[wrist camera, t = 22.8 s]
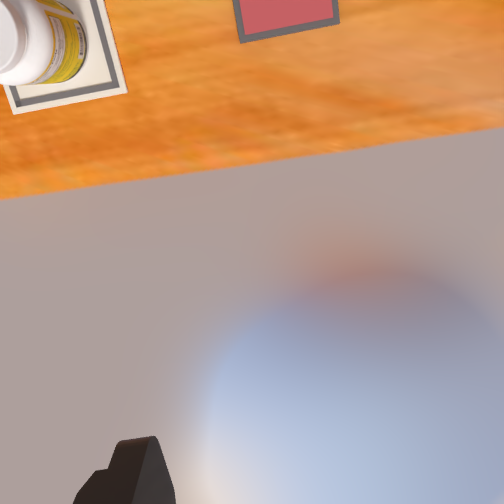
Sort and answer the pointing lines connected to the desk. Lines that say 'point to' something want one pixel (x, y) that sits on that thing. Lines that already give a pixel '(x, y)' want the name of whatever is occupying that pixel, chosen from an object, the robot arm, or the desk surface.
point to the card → (91, 76)
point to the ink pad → (282, 17)
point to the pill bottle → (40, 42)
